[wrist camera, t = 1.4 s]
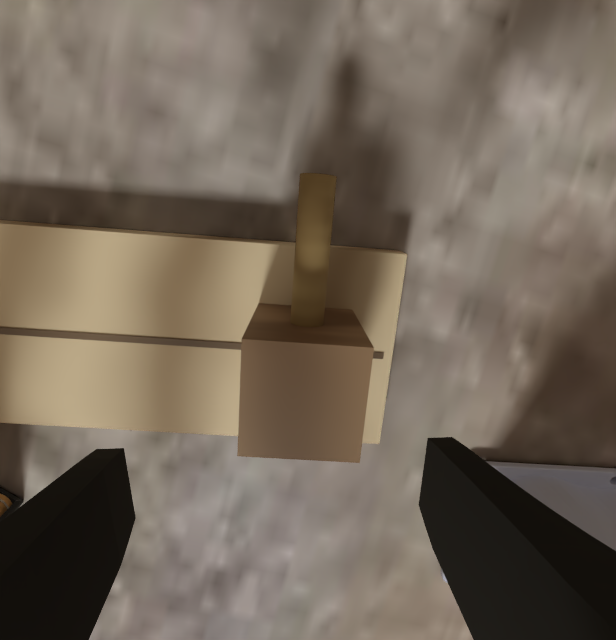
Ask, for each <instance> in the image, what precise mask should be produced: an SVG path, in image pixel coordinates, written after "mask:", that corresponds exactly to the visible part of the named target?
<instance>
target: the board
mask: <svg viewBox="0 0 616 640" xmlns="http://www.w3.org/2000/svg"><path fill="white" fill-rule="evenodd" d="M294 258H295V242H282V241H269V240H256V239H243V238H230V237H217V236H204V235H191V234H178V233H164V232H151V231H138V230H125V229H112V228H99V227H86V226H73V225H60V224H47V223H34V222H20V221H7V220H0V423H16V424H33V425H51V426H69V427H87V428H104V429H122V430H140V431H157V432H175V433H193V434H211V435H228V436H238V427H239V398H240V368H241V339H242V337H243V335H244V333H245V331H246V329H247V326H248V324H249V322H250V320H251V318H252V316H253V314H254V312H255V310H256V308H257V306H258V303H265V304H279V305H291V302H292V287H293V272H294ZM406 260H407V254H405V253H403V252H401V251H399V250H387V249H374V248H361V247H348V246H335V245H330V256H329V267H328V278H327V290H326V301H325V308H336V309H350V310H353V312H354V313H355V315H356V317H357V319H358V320H359V322H360V324H361V326H362V327H363V329H364V331H365V333H366V334H367V336H368V338H369V340H370V341H371V343H372V345H373V347H374V352H373V360H372V368H371V376H370V384H369V392H368V400H367V408H366V416H365V424H364V431H363V439H362V443H370V444H379V442H380V435H381V429H382V422H383V415H384V408H385V402H386V395H387V388H388V381H389V375H390V368H391V361H392V354H393V348H394V341H395V334H396V327H397V321H398V314H399V307H400V300H401V293H402V287H403V280H404V273H405V266H406Z"/></svg>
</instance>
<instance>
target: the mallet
mask: <svg viewBox="0 0 616 640" xmlns="http://www.w3.org/2000/svg"><path fill="white" fill-rule="evenodd" d="M336 178H337V177H336V176H333V175H327V174H317V173H301V174H300V183H299V198H298V213H297V228H296V243H295V258H294V272H293V287H292V302H291V305H279V304H265V303H258V306H257V308H256V310H255V312H254V314H253V316H252V318H251V320H250V322H249V324H248V326H247V329H246V331H245V333H244V335H243V337H242V339H241V368H240V398H239V427H238V456H245V457H263V458H281V459H300V460H318V461H337V462H355V463H360V455H361V447H362V439H363V431H364V424H365V416H366V408H367V400H368V392H369V384H370V376H371V368H372V360H373V352H374V347H373V345H372V343H371V341H370V340H369V338H368V336H367V334H366V333H365V331H364V329H363V327H362V326H361V324H360V322H359V320H358V319H357V317H356V315H355V313H354V312H353V310H350V309H336V308H325V301H326V290H327V278H328V267H329V256H330V245H331V234H332V223H333V212H334V200H335V189H336Z"/></svg>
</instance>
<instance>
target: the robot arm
mask: <svg viewBox="0 0 616 640" xmlns="http://www.w3.org/2000/svg"><path fill="white" fill-rule="evenodd" d="M419 507H420V510H421V513H422V517H423V520H424V523H425V526H426V530H427V533H428V536H429V539H430V542H431V545H432V548H433V550H434V552H435V555H436V557H437V559H438V561H439V564H440V566H441V576H442V578H443V580H444V581H445V582H447V583H448V584H449V586H450V588H451V591H452V593H453V595H454V597H455V599H456V602H457V604H458V606H459V608H460V610H461V613H462V615H463V617H464V619H465V622H466V624H467V626H468V628H469V630H470V633H471V635H472V637H473V639H474V640H616V468H599V467H581V466H563V465H545V464H527V463H509V462H491V461H484V460H483V459H482V458H480V457H479V456H478V455H476V454H475V453H474V452H472V451H471V450H470V449H468V448H467V447H466V446H464V445H463V444H461V443H460V442H458V441H457V440H455V439H454V438H452V437H445V438H428V441H427V448H426V455H425V463H424V470H423V478H422V485H421V492H420V500H419ZM134 521H135V512H134V506H133V500H132V494H131V489H130V483H129V477H128V471H127V465H126V459H125V453H124V448H120V449H96V450H95V451H93V452H92V453H90V454H89V455H88V456H86V457H85V458H84V459H82V460H81V461H80V462H78V463H77V464H76V465H74V466H73V467H72V468H70V469H69V470H68V471H66V472H65V473H64V474H63V475H61V476H60V477H59V478H57V479H56V480H55V481H54V482H52V483H51V484H50V485H48V486H47V487H46V488H44V489H43V490H42V491H41V492H39V493H38V494H37V495H35V496H34V497H33V498H31V499H30V500H29V501H27V502H26V503H25V504H23V505H22V506H21V507H19V508H18V509H17V510H16V511H14V512H13V513H12V514H10V515H9V516H8V517H6V518H5V519H4V520H2V521H1V522H0V640H89V638H90V635H91V633H92V631H93V629H94V626H95V624H96V622H97V619H98V617H99V615H100V613H101V610H102V608H103V606H104V603H105V601H106V599H107V596H108V594H109V592H110V590H111V587H112V585H113V583H114V580H115V578H116V576H117V573H118V571H119V568H120V566H121V563H122V560H123V557H124V554H125V551H126V548H127V545H128V541H129V538H130V535H131V531H132V528H133V524H134Z"/></svg>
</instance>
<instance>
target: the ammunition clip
mask: <svg viewBox="0 0 616 640" xmlns="http://www.w3.org/2000/svg"><path fill="white" fill-rule="evenodd" d="M22 503H23V501H22V500H21V499H19V498H18V497H16V496H14V495H12V494H10V493H9V492H7V491H5V490H3V489H2V488H0V522H1V521H2V520H4V519H5V518H6V517H8V516H9V515H10V514H12V513H13V512H14V511H16V510H17V509H18V508H19V507H20V505H21V504H22Z"/></svg>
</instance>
